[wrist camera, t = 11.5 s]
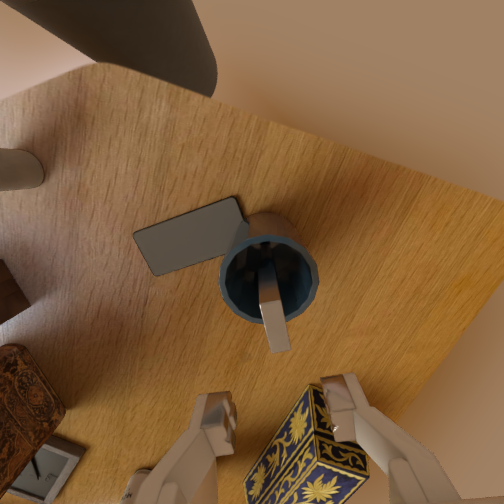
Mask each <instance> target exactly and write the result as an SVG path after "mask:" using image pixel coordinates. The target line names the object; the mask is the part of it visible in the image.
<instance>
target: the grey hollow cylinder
mask: <svg viewBox="0 0 504 504" xmlns="http://www.w3.org/2000/svg"><path fill="white" fill-rule="evenodd" d="M43 178H44V172H43V168H42V166H41V164H40V162H39V161H38V160H37V158H36V157H35V156H33V155H32V154H31V153H29V152H27V151H24V150H18V149H6V148H0V191H9V190H20V189H30V188H35V187H38V186H39V185H40V184H41V183H42V181H43Z"/></svg>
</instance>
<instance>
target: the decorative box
mask: <svg viewBox="0 0 504 504" xmlns="http://www.w3.org/2000/svg"><path fill="white" fill-rule="evenodd" d="M322 390H323V389H320V388H318V387H315V386H312V385H310V384H308V386H307V387H306V389H305V390H304V392H303V393H302V395H301V396H300V398H299V399H298V401H297V402H296V404H295V405H294V407H293V408H292V410H291V411H290V413H289V414H288V416H287V417H286V419H285V420H284V421H283V423H282V424H281V426H280V427H279V429H278V430H277V432H276V433H275V435H274V436H273V438H272V439H271V441H270V442H269V444H268V445H267V447H266V448H265V450H264V451H263V453H262V454H261V456H260V457H259V459H258V460H257V461H256V463H255V464H254V466H253V467H252V469H251V470H250V472H249V473H248V475H247V476H246V478H245V479H244V481H243V487H244V492H245V498H246V503H247V504H344V503H345V502H346V501H347V500H348V499H349V498H350V497H351V496H352V495H353V494H354V493H355V492H356V491H357V490H358V489H359V488H360V487H361V486H362V485H363V484H364V483H365V482H366V480H367V479H368V478H369V466H368V454H367V453H366V451H365V450H364V449H363V448H362V447H361V446H360V445H359V444H358V443H357V441H356V440H355V441H343V442H335V439H334V435H333V432H332V428H331V424H330V419H329V415H328V414H327V410H326V406H325V402H324V397H323V392H322Z"/></svg>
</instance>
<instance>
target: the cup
mask: <svg viewBox="0 0 504 504" xmlns="http://www.w3.org/2000/svg"><path fill="white" fill-rule="evenodd" d="M190 504H218V486H217V465H216V457H215V459H214V461H213V463H212V465H211V467H210V468H209V470H208V472H207V474H206V476H205V477H204V479H203V481H202V483H201V485H200V486H199V488H198V490H197V492H196V494H195V495H194V497H193V499H192V501H191V503H190Z"/></svg>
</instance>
